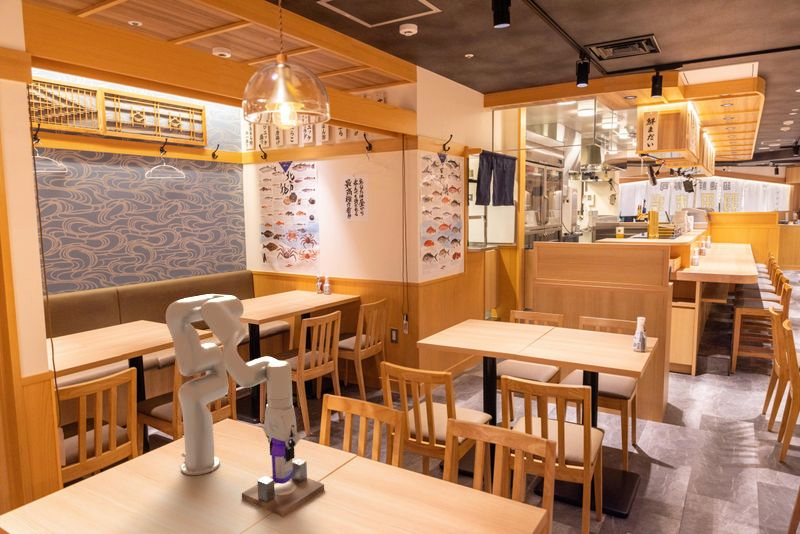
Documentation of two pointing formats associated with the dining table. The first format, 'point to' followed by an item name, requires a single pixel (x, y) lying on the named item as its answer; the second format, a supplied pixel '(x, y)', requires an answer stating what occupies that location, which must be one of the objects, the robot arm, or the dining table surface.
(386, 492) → the dining table surface
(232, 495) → the dining table surface
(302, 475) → the post pair
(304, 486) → the base board
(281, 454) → the bottle
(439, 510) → the dining table surface
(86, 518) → the dining table surface
